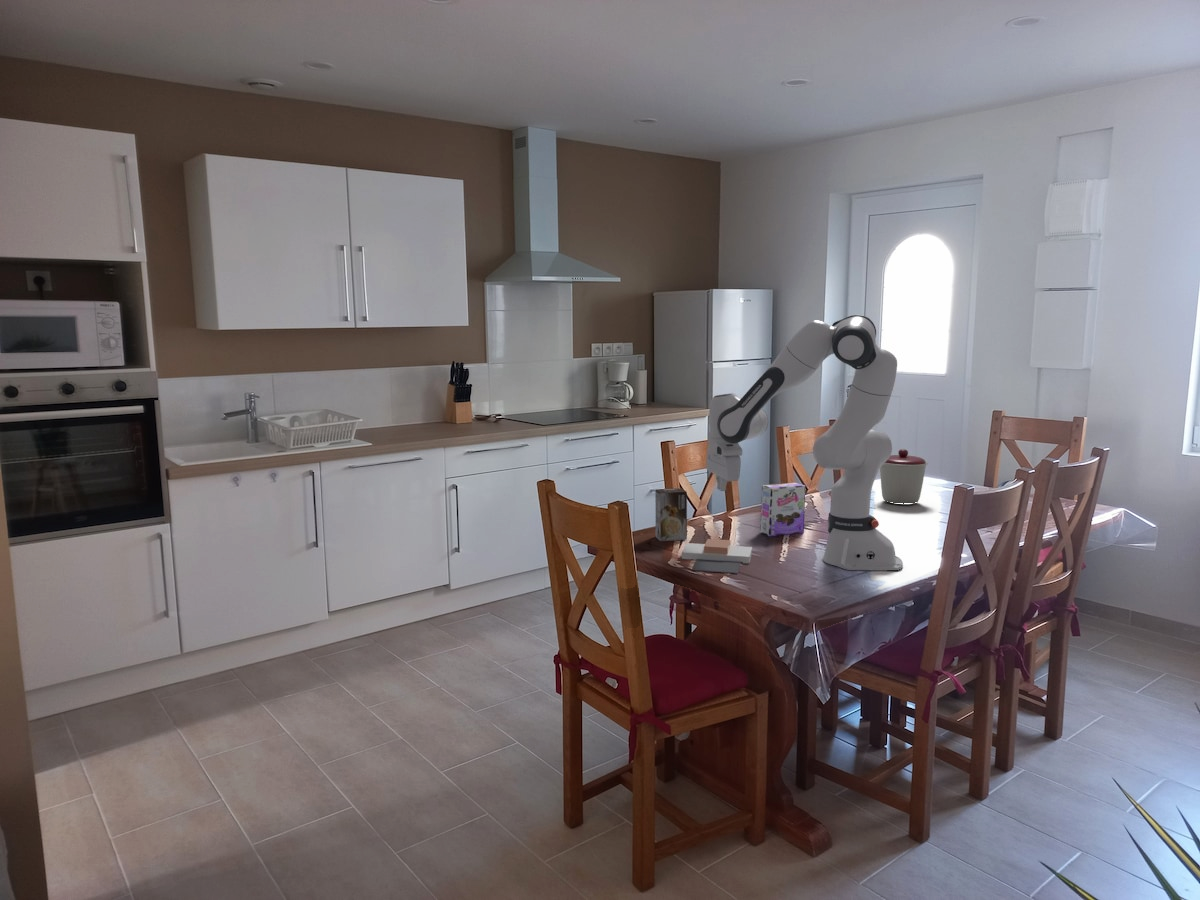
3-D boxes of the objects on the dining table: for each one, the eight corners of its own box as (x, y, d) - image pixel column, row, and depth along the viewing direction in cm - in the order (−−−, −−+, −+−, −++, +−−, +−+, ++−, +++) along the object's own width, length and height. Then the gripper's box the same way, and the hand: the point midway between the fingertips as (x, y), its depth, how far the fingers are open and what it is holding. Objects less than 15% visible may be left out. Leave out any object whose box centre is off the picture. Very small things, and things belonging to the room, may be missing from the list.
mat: (740, 563, 251) (740, 562, 251) (737, 574, 240) (737, 572, 240) (696, 560, 254) (696, 559, 254) (691, 570, 243) (691, 569, 243)
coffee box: (681, 535, 283) (682, 487, 281) (687, 540, 277) (688, 491, 274) (654, 536, 281) (655, 488, 279) (659, 541, 275) (660, 492, 273)
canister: (866, 499, 338) (869, 446, 335) (905, 496, 344) (908, 444, 340) (895, 509, 321) (898, 453, 318) (935, 506, 327) (938, 451, 323)
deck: (751, 553, 261) (752, 547, 261) (749, 563, 251) (749, 556, 250) (686, 549, 266) (687, 543, 266) (681, 558, 255) (681, 552, 255)
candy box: (769, 537, 281) (770, 487, 278) (759, 532, 286) (761, 484, 284) (804, 533, 286) (806, 484, 284) (794, 529, 291) (796, 481, 289)
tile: (730, 546, 262) (730, 540, 261) (727, 554, 253) (727, 547, 253) (707, 545, 263) (707, 538, 263) (703, 552, 255) (704, 546, 254)
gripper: (701, 441, 272) (700, 484, 274) (724, 451, 252) (723, 497, 254) (720, 440, 273) (719, 483, 275) (744, 450, 253) (743, 496, 256)
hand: (721, 490), depth 265 cm, fingers closed
